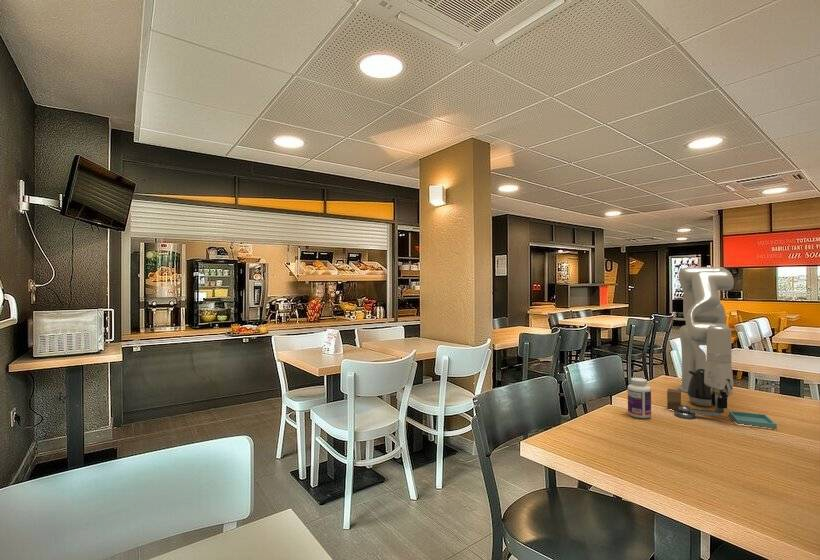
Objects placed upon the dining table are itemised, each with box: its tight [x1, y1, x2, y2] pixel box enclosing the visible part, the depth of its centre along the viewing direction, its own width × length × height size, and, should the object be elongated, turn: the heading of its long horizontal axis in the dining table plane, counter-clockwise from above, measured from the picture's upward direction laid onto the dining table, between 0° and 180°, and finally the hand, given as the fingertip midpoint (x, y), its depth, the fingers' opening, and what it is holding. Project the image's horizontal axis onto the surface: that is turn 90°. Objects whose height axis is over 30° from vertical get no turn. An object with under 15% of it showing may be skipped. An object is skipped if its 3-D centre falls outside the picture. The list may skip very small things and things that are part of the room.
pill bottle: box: [627, 377, 652, 419], centre depth 160 cm, size 8×8×14 cm
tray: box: [728, 410, 778, 429], centre depth 152 cm, size 11×11×2 cm
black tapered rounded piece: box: [686, 369, 712, 407], centre depth 174 cm, size 10×10×15 cm
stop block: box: [666, 388, 682, 410], centre depth 167 cm, size 4×4×8 cm
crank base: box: [673, 409, 697, 420], centre depth 160 cm, size 7×7×2 cm
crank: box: [679, 389, 725, 417], centre depth 157 cm, size 15×4×10 cm, turn 64°
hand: (719, 406), depth 155 cm, fingers closed on crank, 2 cm apart
